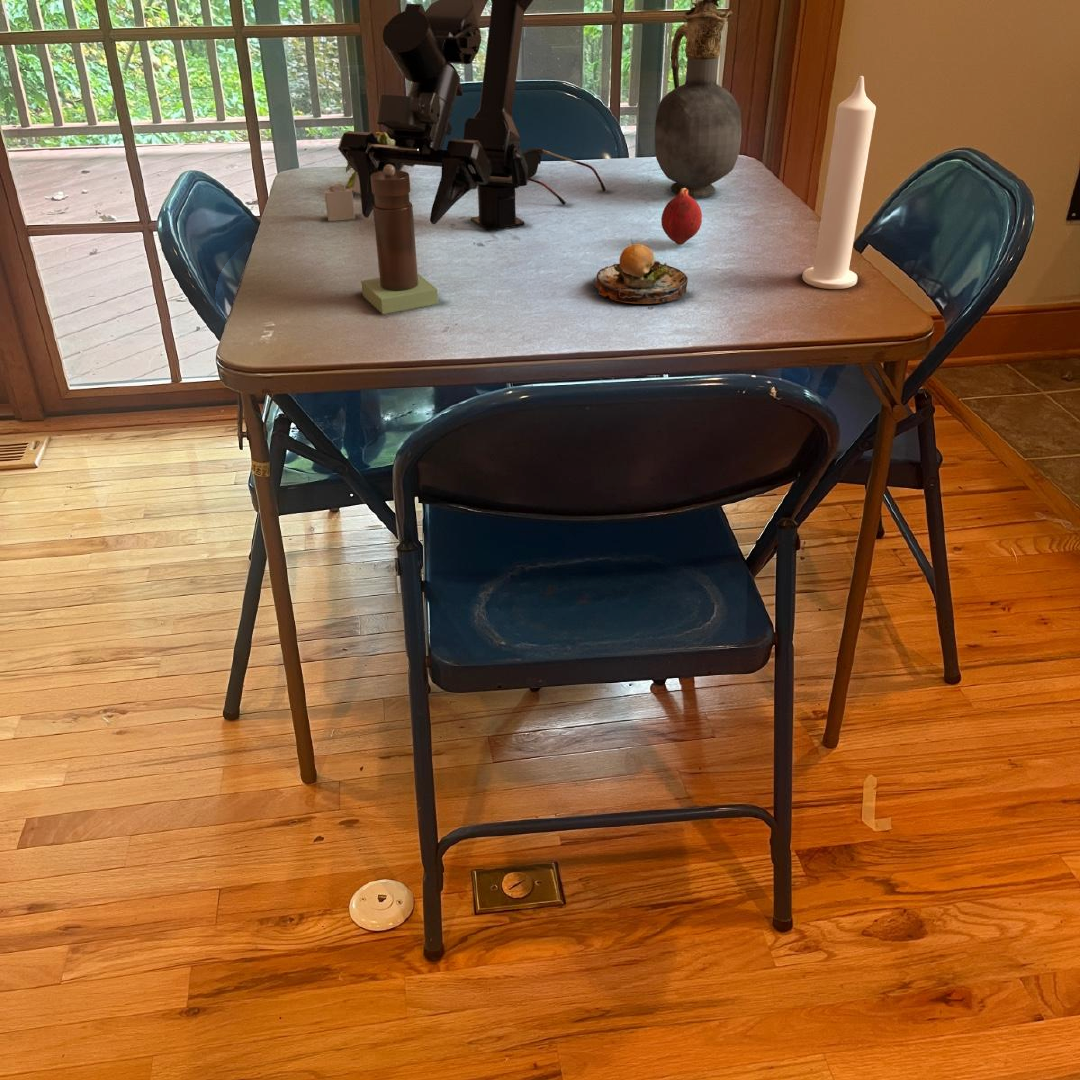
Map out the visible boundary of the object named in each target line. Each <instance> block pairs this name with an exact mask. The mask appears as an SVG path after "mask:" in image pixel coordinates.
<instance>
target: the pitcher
mask: <svg viewBox="0 0 1080 1080" xmlns="http://www.w3.org/2000/svg"><path fill="white" fill-rule="evenodd" d="M719 2H721V0H698V2H691V5H692V6H694V7H690V9H689V10H688V11H685V12H684V13H683V16H682V18H683V19H685V20H686V23H683V24H681V25H679V26H678V27H677V28H676V30H675V33H674V35H673V39H672V42H671V45H670V47H671V49H670V62H671V63H670V64H671V65H670V67H671V71H672V81H673V86H674V88H673V89H672V90H670V91H669V92H667V94H666V95H664V96H663V97H662V98H661V100H660V102H659V104H658V108H657V112H656V117H655V125H654V149H655V158H656V162H657V163H658V165H659V167H660V170H661V171H662V173H663V174H664V175H665V177H666V178H667V179H668V180H670V181H672V182H673V183H672V184H671V186H670V192H671V193H672V194H674V195H676V196H677V195H678V194H679V192H680V191H681V189H682V188H686V189H687V190H689V191H688V195H689V196H690V197H692V198H693V199H704V198H710V197H712V196H714V195H715V191H716V187H715V186H714V185H713V184H714V183H716V182H717V181H719V180H721V179H723V178H724V177H726V176H728V174H729V173H730V172H732V171H733V170H734V168H735V166H736V163H737V161H738V159H739V154H740V149H741V144H742V116H741V115H742V114H741V109H740V106H739V104H738V102H737V100H736V99H735V97H734V96H733V94H732V93H731V92H730V91H729V90H728V89H726V88H725V87H722V86H721V85H719V84H717V83H718V82H717V81H718V70H719V69H718V68H719V59H720V55H721V53H722V52H721V51H722V36H723V30H724V27H725V24H726V22H727V21H728V19H729V18H731V17H732V15H733V10H729V11H722V10H718V8H719V7H720V4H719ZM684 37H685V38H686V40H685V47H684V52H685V57H686V60H687V61H686V71H685V72H686V73H685V82H684V83H683V84H682V85H680V74H679V73H680V62H679V57H680V56H679V55H680V48H681V42H682V39H683V38H684Z"/></svg>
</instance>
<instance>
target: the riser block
mask: <svg viewBox="0 0 1080 1080" xmlns="http://www.w3.org/2000/svg"><path fill="white" fill-rule="evenodd" d="M360 283H361V292H362V297H364V298H365V300H367V301H368V302H369V303H370V304H371V305H372V306H373V307H374V308H375V309H376V310H377V311H378V312H380V314H382V315H387V314H393V313H398V312H402V311H408V310H413V309H419V308H424V307H431V306H434V305H435V306H436V305H439V294H438V293H439V291H438V288H436V287H435V286H434V285H433V284H432V283H430V281H428V280H427V279H425V278H424V277H423V276H422V275H420V273H418V285H417V286H416V287H414V288H412V289H409V290H403V291H391V290H386V289H383V288H382V287H381V285H380V277H375V278H370V279H363V280H361V281H360Z"/></svg>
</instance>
